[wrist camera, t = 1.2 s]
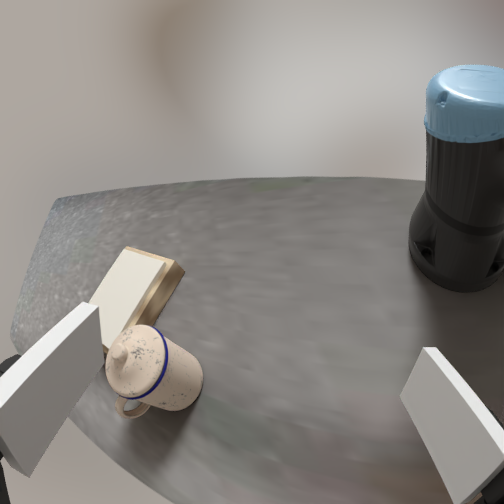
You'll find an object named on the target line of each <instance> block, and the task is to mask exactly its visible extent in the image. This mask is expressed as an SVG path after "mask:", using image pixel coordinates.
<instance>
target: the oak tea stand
mask: <svg viewBox="0 0 504 504" xmlns="http://www.w3.org/2000/svg"><path fill="white" fill-rule="evenodd" d="M184 273H185V271H184V270H183V269H182V268H181V267H180V266H179V265H178V264H177V262H176V261H174V260H171V259H168V258H164V257H161V256H157V255H154V254H151V253H147V252H144V251H141V250H137V249H134V248H131V247H128V246H127V247H126V248H125V249H124V250H123V251H122V252H121V254H120V255H119V257H118V258H117V260H116V261H115V263H114V264H113V266H112V267H111V269H110V270H109V272H108V273H107V275H106V276H105V278H104V279H103V281H102V282H101V284H100V286H99V287H98V289H97V290H96V292H95V293H94V295H93V297H92V298H91V300H90V301H89V304H93V305H97V306H99V316H100V327H101V337H102V346H103V351H104V352H105V353H106V354H108V351H109V349H110V347H111V345H112V343H113V342H114V340H115V339H116V338H117V336H118V335H119V334H120V333H122V332H123V331H124V330H126V329H127V328H129V327H132V326H135V325H148V326H153V324H154V323H155V321H156V319H157V317H158V316H159V314H160V312H161V311H162V309H163V307H164V306H165V304H166V302H167V301H168V299H169V297H170V296H171V294H172V293H173V291H174V289H175V288H176V286H177V284H178V283H179V281H180V279H181V278H182V276H183V275H184Z"/></svg>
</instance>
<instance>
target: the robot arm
mask: <svg viewBox="0 0 504 504" xmlns="http://www.w3.org/2000/svg"><path fill="white" fill-rule="evenodd" d="M424 125H425V127H426V137H427V138H426V139H427V140H426V141H427V161H426V187H425V192H424V193H423V195H422V197H421V199H420V201H419V203H418V205H417V207H416V209H415V211H414V213H413V215H412V218H411V221H410V227H409V247H410V251H411V254H412V257H413V259H414V261H415V263H416V264H417V266H418V267H419V269H420V270H421V271H422V272H423V273H424V274H425V275H426V276H427V277H428V278H429V279H430V280H432V281H433V282H435V283H436V284H438V285H440V286H442V287H444V288H447V289H450V290H453V291H458V292H474V291H478V290H481V289H484V288H486V287H488V286H490V285H491V284H492V283H494V282H495V281H496V280H497V279H498V277H499V276H500V275H501V273H502V271H503V269H504V69H502V68H498V67H493V66H486V65H461V66H455V67H451V68H448V69H445V70H442V71H441V72H439V73H437V74H436V75H435V76H434V77H433V78H432V79H431V80H430V82H429V83H428V86H427V89H426V115H425V118H424ZM104 363H105V361H104V354H103V346H102V337H101V327H100V316H99V306H97V305H93V304H89V303H85V302H82V303H81V304H80V305H79V306H77V307H76V308H75V309H74V310H73V311H72V312H70V313H69V314H68V315H67V316H66V317H65V318H63V319H62V320H61V321H60V322H59V323H58V324H57V325H56V326H54V327H53V328H52V329H51V330H50V331H49V332H48V333H47V334H45V335H44V336H43V337H42V338H41V339H40V340H39V341H38V342H37V343H36V344H34V345H33V346H32V347H31V348H30V349H29V350H28V351H27V352H26V353H25V354H24V355H23V356H20V355H18V354H17V355H14V356H13V357H10V358H8V359H6V360H5V361H3V363H1V364H0V460H1V459H2V457H3V456H4V458H5V459H6V460H7V462H8V463H9V464H10V466H11V467H12V468H14V469H16V470H17V471H19V472H20V473H22V474H24V475H25V476H27V477H30V476H31V474H32V472H33V471H34V469H35V467H36V466H37V464H38V462H39V461H40V459H41V457H42V456H43V454H44V453H45V451H46V449H47V448H48V446H49V444H50V443H51V441H52V440H53V438H54V437H55V435H56V434H57V432H58V430H59V429H60V427H61V426H62V424H63V423H64V421H65V420H66V418H67V417H68V415H69V414H70V412H71V411H72V409H73V408H74V406H75V405H76V403H77V402H78V400H79V399H80V397H81V396H82V394H83V393H84V391H85V390H86V389H87V387H88V386H89V384H90V383H91V381H92V380H93V378H94V377H95V376H96V374H97V373H98V371H99V370H100V369H101V367H102V366H103V364H104ZM399 397H400V399H401V401H402V402H403V404H404V406H405V408H406V410H407V412H408V413H409V415H410V417H411V419H412V421H413V423H414V425H415V426H416V428H417V430H418V432H419V434H420V436H421V438H422V440H423V442H424V444H425V446H426V448H427V449H428V451H429V453H430V455H431V457H432V459H433V461H434V463H435V465H436V467H437V469H438V471H439V474H440V476H441V478H442V480H443V482H444V484H445V486H446V488H447V490H448V492H449V495H450V497H451V499H452V501H453V503H454V504H465V503H467V502H469V501H471V500H472V499H473V498H474V497H475V496H476V495H477V494H478V493H480V492H481V493H482V495H483V496H482V497H481V498H479V499H478V500H477V501H476V502H475V503H474V504H504V428H503V425H502V423H501V422H500V421H498V420H499V419H498V418H497V417H496V416H495V414H494V413H493V412H492V411H491V410H490V409H489V408H487V407H486V406H485V405H484V404H483V403H482V401H481V400H480V399H479V398H478V396H477V395H476V394H475V393H474V391H473V390H472V389H471V388H470V387H469V385H468V384H467V383H466V382H465V381H464V379H463V378H462V377H461V376H460V375H459V373H458V372H457V371H456V370H455V369H454V368H453V366H452V365H451V364H450V363H449V362H448V361H447V359H446V358H445V357H444V356H443V355H442V354H441V353H440V351H439V350H438V349H437V348H436V347H423V348H422V350H421V353H420V355H419V357H418V359H417V361H416V364H415V366H414V368H413V370H412V372H411V374H410V376H409V378H408V380H407V382H406V384H405V386H404V388H403V390H402V392H401V394H400V396H399ZM0 504H10V500H9V495H8V491H7V487H6V482H5V477H4V472H3V468H2V465H1V462H0Z"/></svg>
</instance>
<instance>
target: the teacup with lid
mask: <svg viewBox="0 0 504 504" xmlns="http://www.w3.org/2000/svg"><path fill="white" fill-rule="evenodd" d="M106 376H107V379H108V382H109V384H110V386H111V387H112V389H113V390H114V391H115V392H116V393H117V394H118V395H119V397H118V398H117V400H116V404H115V408H116V411H117V413H118V414H119V415H120V416H121V417H123V418H127V419H132V418H137V417H139V416H141V415H143V414H144V413H145V412H146V411H147V410H148V409H149V407H150V406H151V405H152V406H155V407H159V408H162V409H165V410H169V411H178V410H182V409H184V408H186V407H188V406H189V405H190V404H192V403H193V402H194V401H195V399H196V398H197V397H198V395H199V393H200V391H201V388H202V383H203V373H202V369H201V366H200V364H199V362H198V360H197V359H196V358H195V357H194V356H193V355H192V354H190V353H188V352H187V351H185V350H184V349H182V348H181V347H179V346H177V345H176V344H174V343H173V342H171V341H170V340H168V339H167V338H165V337H164V336H163V335H162V334H161V333H160V332H159V331H158V330H157V329H156V328H154V327H152V326H148V325H135V326H132V327H129V328H127V329H126V330H124V331H123V332H122V333H120V334H119V335H118V336H117V338H116V339H115V340H114V342H113V343H112V345H111V347H110V349H109V351H108V354H107V358H106ZM128 399H132V400H133V399H135V400H137V401H140V402H142V403H141V404H140V405H139V406H138V407H137V408H135V409H133V410H130V411H124V410H123V409H124V405H125V404H126V402H127V400H128Z"/></svg>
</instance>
